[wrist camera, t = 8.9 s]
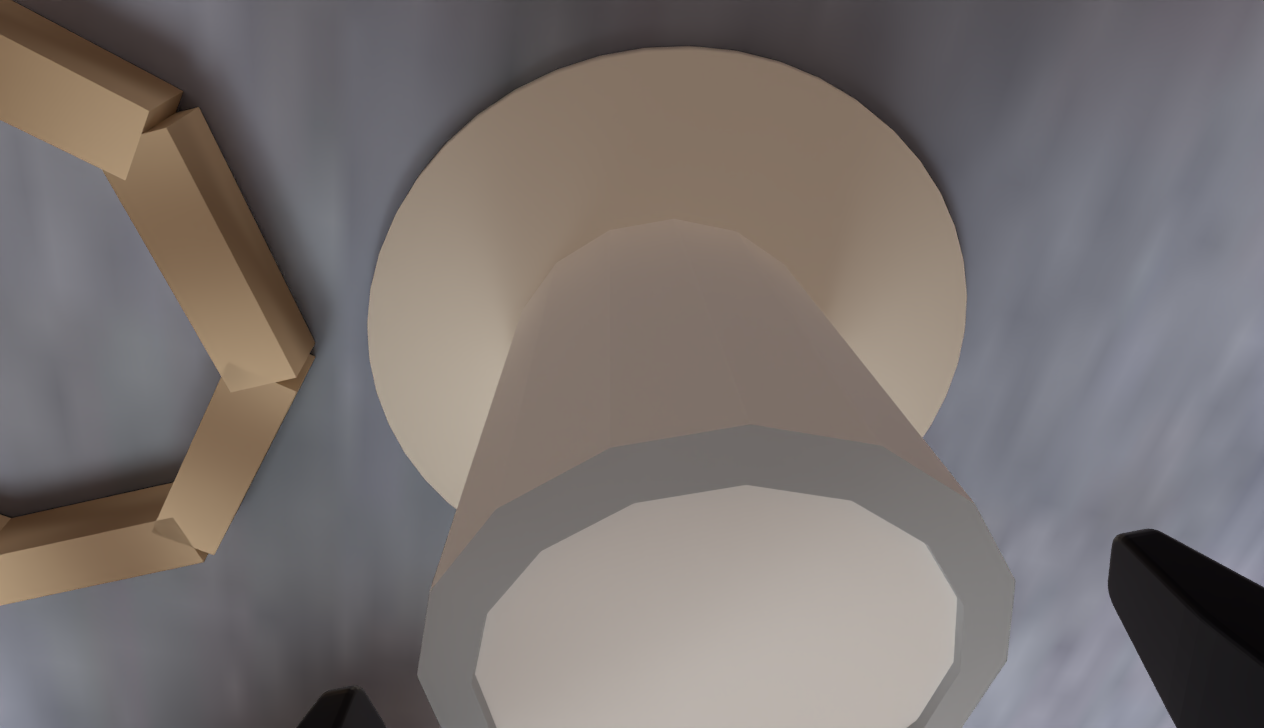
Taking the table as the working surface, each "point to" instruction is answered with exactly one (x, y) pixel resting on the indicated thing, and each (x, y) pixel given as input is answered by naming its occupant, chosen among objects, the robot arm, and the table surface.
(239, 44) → the table surface
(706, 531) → the shot glass
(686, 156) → the coaster mat
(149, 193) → the oak collar
